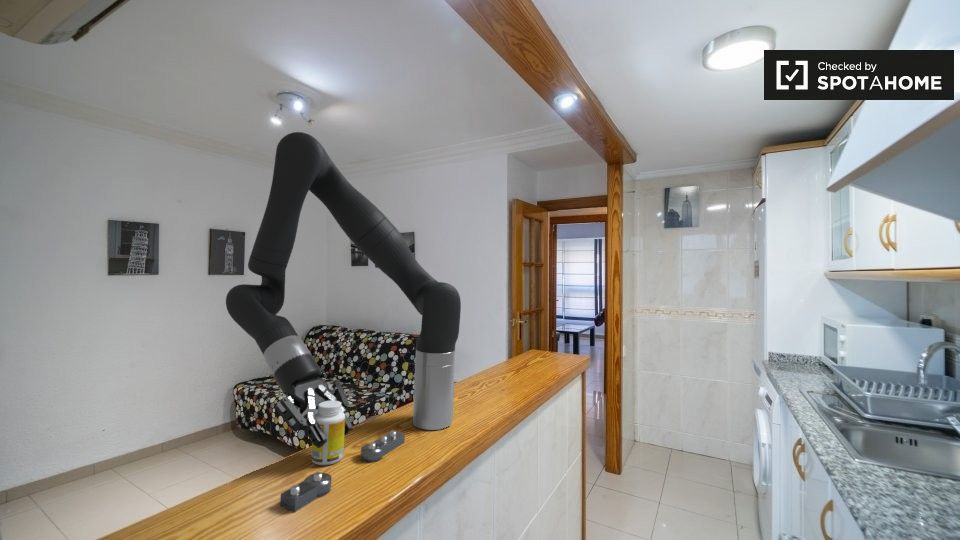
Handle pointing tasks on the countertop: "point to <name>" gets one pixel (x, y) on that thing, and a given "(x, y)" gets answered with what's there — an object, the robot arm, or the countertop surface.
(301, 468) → the countertop surface
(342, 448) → the supplement bottle
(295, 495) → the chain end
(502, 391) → the countertop surface
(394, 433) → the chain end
